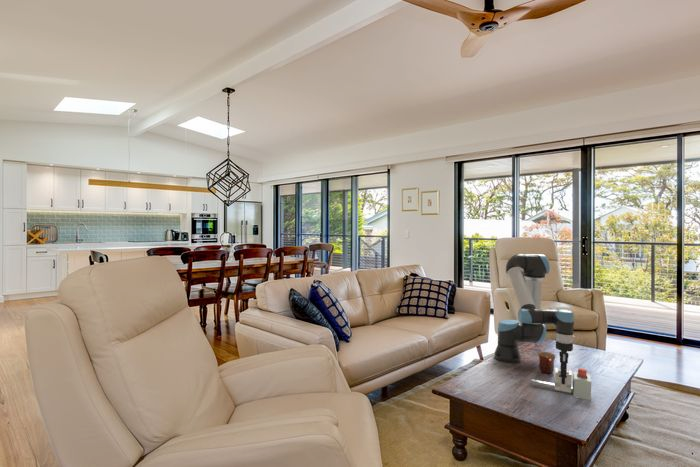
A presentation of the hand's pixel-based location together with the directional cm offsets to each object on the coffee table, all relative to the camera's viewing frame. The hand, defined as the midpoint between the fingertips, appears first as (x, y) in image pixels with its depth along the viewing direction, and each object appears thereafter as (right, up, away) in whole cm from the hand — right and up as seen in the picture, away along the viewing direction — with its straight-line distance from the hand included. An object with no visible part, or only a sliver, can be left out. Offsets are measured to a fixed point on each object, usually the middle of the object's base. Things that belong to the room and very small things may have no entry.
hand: (562, 386), depth 193 cm
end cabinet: (+7, -2, -4) cm, 8 cm away
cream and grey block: (0, -1, 0) cm, 1 cm away
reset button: (+7, +7, -4) cm, 11 cm away
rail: (-4, -2, +2) cm, 5 cm away
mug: (+3, -1, +21) cm, 21 cm away
